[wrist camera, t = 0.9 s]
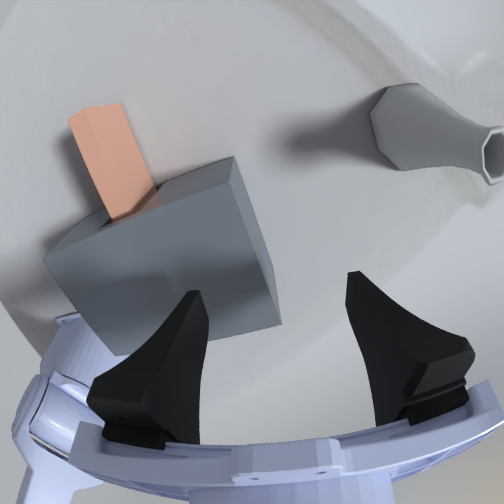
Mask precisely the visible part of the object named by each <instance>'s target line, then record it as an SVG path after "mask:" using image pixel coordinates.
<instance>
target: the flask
mask: <svg viewBox="0 0 504 504" xmlns="http://www.w3.org/2000/svg"><path fill="white" fill-rule="evenodd" d="M369 114H370V118H371V122H372V126H373V130H374V134H375V138H376V142H377V147H378V150H380V151H381V152H382V153H383V154H384V155H385V156H386V157H387V158H388V159H389V160H390V161H391V162H392V163H393V164H394V165H395V166H396V167H397V168H398V169H399V170H400V171H408V170H414V169H421V168H428V167H441V166H455V167H461V168H466V169H470V170H472V171H475V172H477V173H479V174H481V175H482V177H483V178H484V180H485V182H486V183H487V184H488V185H490V186H491V185H494V184H497V183H500V182H502V181H504V127H503V126H494V127H489V128H488V127H485V126H482V125H479V124H477V123H475V122H473V121H472V120H470V119H468V118H466V117H464V116H462V115H461V114H459V113H458V112H457V111H455V110H454V109H453V108H451V107H450V106H449V105H447V104H446V103H445V102H443V101H442V100H441V99H439V98H438V97H437V96H435V95H434V94H433V93H431V92H430V91H429V90H427V89H426V88H425V87H423V86H422V85H420V84H419V83H412V84H405V85H398V86H392V87H388V89H387V90H386V92H385V93H384V94H383V96H382V97H381V98H380V100H379V101H378V102H377V104H376V105H375V106H374V108H373V109H372V111H371V112H370V113H369Z"/></svg>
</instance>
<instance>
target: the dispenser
mask: <svg viewBox="0 0 504 504" xmlns="http://www.w3.org/2000/svg"><path fill="white" fill-rule="evenodd" d="M43 261H44V262H45V264H46V266H47V267H48V269H49V270H50V272H51V274H52V275H53V277H54V278H55V280H56V281H57V283H58V284H59V286H60V287H61V289H62V290H63V292H64V293H65V294H66V296H67V297H68V299H69V300H70V301H71V303H72V304H73V305H74V307H75V308H76V310H77V311H78V312H79V314H80V315H81V316H82V317H83V319H84V320H85V321H86V323H87V324H88V325H89V326H90V328H91V329H92V330H93V331H94V333H95V334H96V335H97V336H98V337H99V339H100V340H101V341H102V342H103V343H104V344H105V346H106V347H107V348H108V349H109V350H110V351H111V352H112V354H113V355H114V356H115V357H116V356H124V355H131V354H132V353H133V352H135V351H136V350H137V349H138V348H139V347H141V346H142V345H143V344H144V343H145V342H146V341H147V340H148V339H149V338H150V337H151V336H152V335H153V334H154V333H155V332H156V331H157V329H158V328H159V327H160V326H161V325H162V324H163V322H164V321H165V320H166V319H167V317H168V316H169V315H170V314H171V312H172V311H173V310H174V308H175V307H176V306H177V304H178V303H179V302H180V300H181V299H182V298H183V296H184V295H185V294H186V292H187V291H191V290H200V293H201V296H202V299H203V302H204V305H205V308H206V311H207V314H208V317H209V334H208V341H212V340H217V339H222V338H227V337H231V336H236V335H240V334H245V333H249V332H253V331H257V330H262V329H266V328H270V327H274V326H278V325H281V324H282V322H281V316H280V309H279V302H278V296H277V289H276V282H275V276H274V269H273V266H272V263H271V260H270V257H269V254H268V251H267V248H266V245H265V242H264V239H263V237H262V234H261V231H260V228H259V225H258V222H257V219H256V216H255V213H254V211H253V208H252V205H251V202H250V199H249V196H248V194H247V191H246V188H245V185H244V182H243V179H242V177H241V174H240V171H239V168H238V165H237V163H236V160H235V157H234V156H233V157H230V158H227V159H224V160H221V161H218V162H215V163H213V164H210V165H207V166H204V167H201V168H199V169H196V170H193V171H191V172H188V173H185V174H183V175H180V176H178V177H175V178H172V179H170V180H167V181H166V182H165V183H164V184H163V185H162V186H161V188H160V189H159V190H158V191H157V192H156V193H155V194H154V195H153V197H152V198H151V199H150V200H149V201H148V202H147V204H146V205H145V206H144V207H143V208H142V209H141V211H139V212H137V213H134V214H132V215H130V216H127V217H125V218H122V219H120V220H118V221H116V222H113V221H112V218H111V216H110V214H109V212H108V210H107V208H104V209H102V210H100V211H98V212H96V213H94V214H92V215H90V216H88V217H86V218H84V219H83V220H82V221H81V222H79V223H78V224H77V225H76V226H75V227H74V228H73V229H72V230H71V231H70V232H69V233H68V234H67V235H66V236H65V237H64V238H63V239H62V240H61V241H60V242H59V243H58V244H57V245H56V246H55V247H54V248H53V249H52V250H51V251H50V252H49V253H48V254H47V255H46V256H45V257H44V258H43Z"/></svg>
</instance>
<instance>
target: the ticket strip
mask: <svg viewBox="0 0 504 504" xmlns="http://www.w3.org/2000/svg"><path fill="white" fill-rule="evenodd" d="M68 121H69V124H70V127H71V129H72V132H73V135H74V137H75V140H76V142H77V145H78V147H79V149H80V152H81V154H82V157H83V159H84V161H85V164H86V166H87V168H88V170H89V173H90V175H91V177H92V179H93V181H94V184H95V186H96V188H97V190H98V192H99V194H100V196H101V198H102V200H103V202H104V204H105V206H106V208H107V210H108V212H109V214H110V216H111V218H112V221H113V222H116V221H118V220H120V219H122V218H125V217H127V216H130V215H132V214H134V213H137V212H139V211H141V209H142V208H143V207H144V206H145V205H146V204H147V202H148V201H149V200H150V199H151V198H152V197H153V195H154V194H155V193H156V192H157V189H156V187H155V184H154V183H153V180H152V178H151V176H150V174H149V171H148V169H147V167H146V164H145V162H144V160H143V157H142V155H141V153H140V150H139V148H138V145H137V143H136V141H135V138H134V136H133V133H132V131H131V128H130V126H129V123H128V121H127V118H126V116H125V113H124V110H123V108H122V105H121V104H113V105H103V106H95V107H88V108H84V109H83V110H81V111H80V112H78V113H77V114H75V115H74V116H72V117H71V118H70V119H68Z"/></svg>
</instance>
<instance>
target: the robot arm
mask: <svg viewBox="0 0 504 504" xmlns="http://www.w3.org/2000/svg"><path fill="white" fill-rule="evenodd" d="M345 305H346V309H347V313H348V317H349V321H350V324H351V326H352V329H353V332H354V334H355V337H356V339H357V342H358V345H359V347H360V350H361V352H362V355H363V358H364V361H365V365H366V369H367V373H368V378H369V383H370V387H371V393H372V399H373V405H374V412H375V421H376V427H374V428H370V429H366V430H362V431H357V432H352V433H348V434H343V435H338V436H332V437H325V438H313V439H306V440H298V441H288V442H278V443H262V444H248V445H200V435H199V434H200V433H199V403H200V382H201V374H202V369H203V363H204V358H205V353H206V347H207V342H208V334H209V317H208V314H207V311H206V308H205V305H204V302H203V299H202V296H201V293H200V290H191V291H187V292H186V294H185V295H184V296H183V298H182V299H181V300H180V302H179V303H178V304H177V306H176V307H175V308H174V310H173V311H172V312H171V314H170V315H169V316H168V317H167V319H166V320H165V321H164V322H163V324H162V325H161V326H160V327H159V328H158V329H157V331H156V332H155V333H154V334H153V335H152V336H151V337H150V338H149V339H148V340H147V341H146V342H145V343H144V344H143V345H142V346H141V347H139V348H138V349H137V350H136V351H135V352H133V353H132V354H131V355H124V356H116V357H115V356H114V355H113V354H112V352H111V351H110V350H109V349H108V348H107V347H106V346H105V344H104V343H103V342H102V341H101V340H100V339H99V337H98V336H97V335H96V334H95V333H94V331H93V330H92V329H91V328H90V326H89V325H88V324H87V323H86V321H85V320H84V319H83V317H82V316H81V315H80V314H79V313H75V314H71V315H67V316H63V317H59V318H57V320H56V322H57V324H58V325H59V326H60V327H59V329H58V331H57V333H56V334H55V336H54V338H53V340H52V341H51V343H50V345H49V347H48V349H47V350H46V352H45V354H44V356H43V358H42V360H41V364H40V374H38V375H35V376H34V378H33V379H32V380H31V382H30V384H29V385H28V387H27V389H26V391H25V392H24V394H23V397H22V399H21V401H20V403H19V406H18V409H17V412H16V416H15V419H14V422H13V424H12V427H11V431H12V439H13V441H14V443H15V445H16V447H17V448H18V450H19V452H20V453H21V455H22V457H23V458H24V460H25V461H26V463H27V465H28V466H27V469H26V472H25V475H24V478H23V481H22V484H21V488H20V491H19V494H18V498H17V502H16V504H70V502H71V499H72V496H73V493H74V491H76V490H80V489H84V488H89V487H93V486H98V485H101V484H103V481H105V482H109V483H112V484H115V485H118V486H122V487H125V488H129V489H133V490H136V491H140V492H145V493H148V494H153V495H157V496H162V497H167V498H173V499H178V500H184V501H189V504H395V500H394V495H393V490H392V484H391V483H393V482H396V481H399V480H401V479H404V478H407V477H409V476H412V475H414V474H417V473H419V472H422V471H424V470H426V469H429V468H431V467H433V466H435V465H437V464H440V463H442V462H444V461H446V460H448V459H450V458H452V457H454V456H456V455H458V454H460V453H461V452H464V451H465V450H467V449H469V448H471V447H473V446H475V445H477V444H478V443H480V442H481V441H483V440H484V439H485V438H487V437H488V436H489V435H490V434H491V433H493V432H494V431H495V430H496V429H497V428H499V427H500V426H501V425H502V424H503V423H504V411H503V409H502V406H501V404H500V402H499V399H498V397H497V395H496V393H495V391H494V388H493V386H492V385H491V382H490V380H489V379H487V380H485V381H483V382H481V383H479V384H476V385H474V386H472V387H471V388H469V389H468V390H467V391H466V389H465V386H464V385H466V380H465V378H464V376H465V374H466V373H467V371H468V370H469V368H470V367H471V365H472V364H473V362H474V359H475V352H474V350H473V348H472V347H471V345H470V343H469V342H468V340H467V339H466V338H465V337H461V336H458V335H455V334H452V333H449V332H447V331H445V330H442V329H440V328H437V327H435V326H433V325H431V324H429V323H427V322H425V321H424V320H421V319H420V318H418V317H417V316H415V315H413V314H412V313H410V312H409V311H407V310H406V309H404V308H403V307H401V306H400V305H398V304H397V303H396V302H395V301H393V300H392V299H391V298H389V297H388V296H387V295H386V294H385V293H384V292H383V291H381V290H380V289H379V288H378V287H377V286H376V285H375V284H374V283H372V282H371V281H370V280H369V279H368V278H367V277H366V276H365V275H364V274H363V273H361V272H360V271H355V272H348V277H347V290H346V301H345ZM29 432H30V433H31V434H33V435H34V436H36V437H38V438H39V439H41V440H42V441H44V442H46V443H47V444H49V445H51V446H52V447H54V448H56V449H58V450H59V451H61V452H63V453H65V454H67V455H69V458H66V457H64V456H62V455H60V454H59V453H57V452H55V451H53V450H51V449H50V448H48V447H46V446H45V445H43V444H41V443H40V442H38V441H36V440H35V439H33V438H32V437H31V436H30V433H29Z"/></svg>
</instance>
